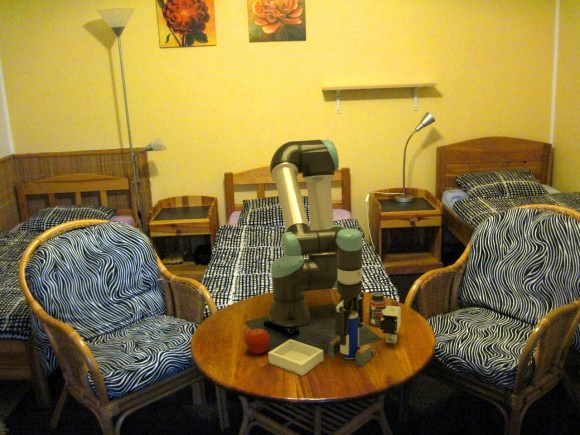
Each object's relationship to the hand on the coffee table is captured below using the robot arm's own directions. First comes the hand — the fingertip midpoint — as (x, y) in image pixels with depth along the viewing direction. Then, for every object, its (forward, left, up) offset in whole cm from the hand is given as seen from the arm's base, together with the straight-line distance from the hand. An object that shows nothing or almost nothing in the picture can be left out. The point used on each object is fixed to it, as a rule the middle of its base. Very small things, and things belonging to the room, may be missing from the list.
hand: (349, 349), depth 172 cm
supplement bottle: (-5, +26, -3) cm, 26 cm away
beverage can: (0, 0, -2) cm, 2 cm away
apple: (-26, -14, -3) cm, 30 cm away
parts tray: (-12, -12, -3) cm, 17 cm away
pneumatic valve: (+5, +17, -3) cm, 18 cm away
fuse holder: (0, 0, -3) cm, 3 cm away
